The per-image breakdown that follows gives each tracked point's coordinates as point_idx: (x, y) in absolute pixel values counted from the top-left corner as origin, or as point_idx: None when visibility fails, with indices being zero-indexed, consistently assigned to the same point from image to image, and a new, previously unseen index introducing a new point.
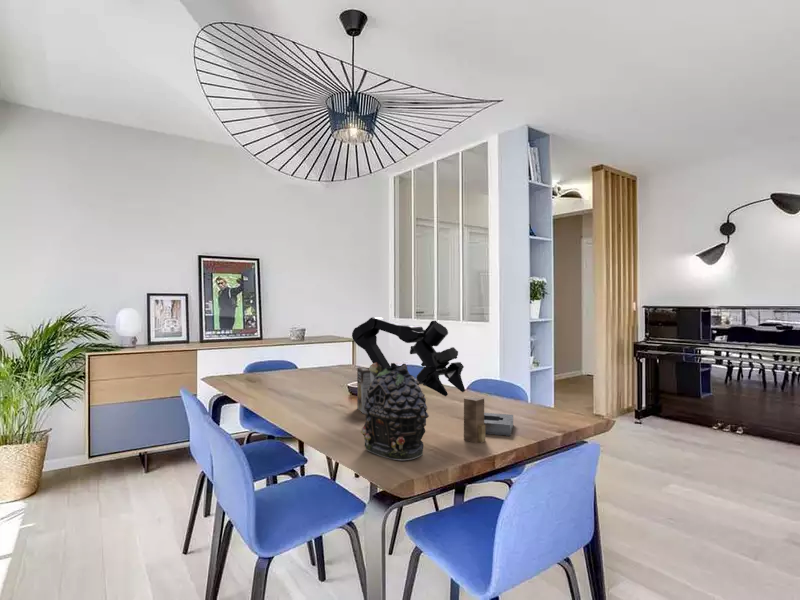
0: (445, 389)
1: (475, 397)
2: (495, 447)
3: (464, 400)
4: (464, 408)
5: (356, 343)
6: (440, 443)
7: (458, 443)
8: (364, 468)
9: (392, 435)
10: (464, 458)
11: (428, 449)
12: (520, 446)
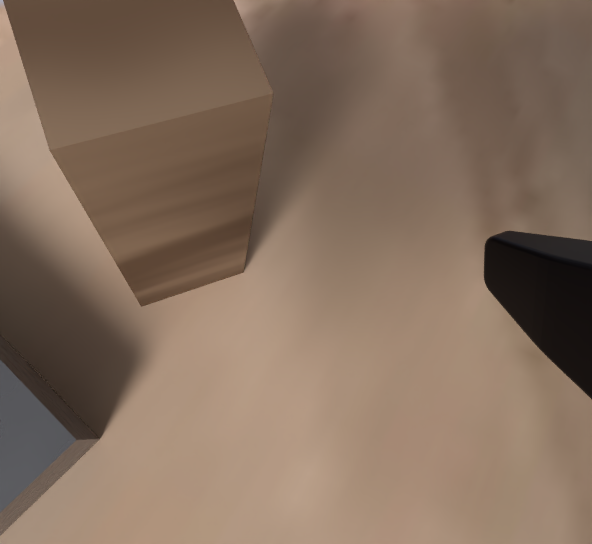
0: (564, 253)
1: (52, 75)
2: None
3: (268, 100)
4: (258, 158)
5: None
6: (429, 277)
7: (321, 226)
8: None
9: None
10: (424, 23)
11: (541, 214)
12: (3, 11)
